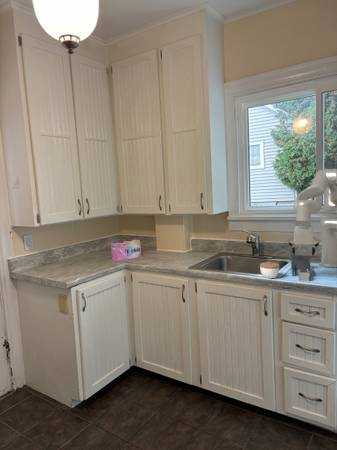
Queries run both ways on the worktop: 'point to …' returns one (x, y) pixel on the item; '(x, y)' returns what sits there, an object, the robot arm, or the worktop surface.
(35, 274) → the worktop surface
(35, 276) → the worktop surface
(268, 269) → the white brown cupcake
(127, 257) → the gum box
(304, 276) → the lock block
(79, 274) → the worktop surface
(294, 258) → the coupler socket
